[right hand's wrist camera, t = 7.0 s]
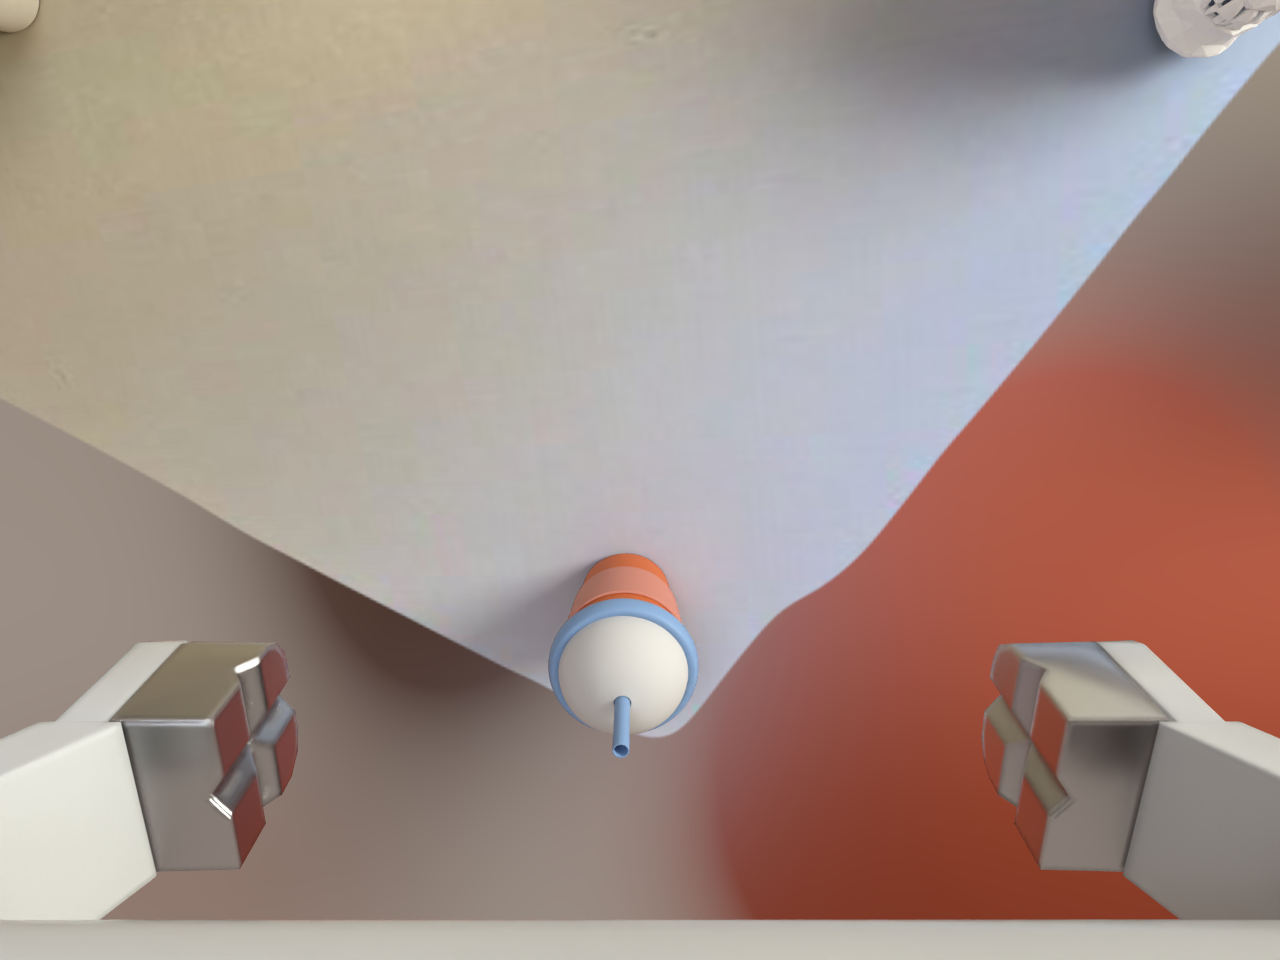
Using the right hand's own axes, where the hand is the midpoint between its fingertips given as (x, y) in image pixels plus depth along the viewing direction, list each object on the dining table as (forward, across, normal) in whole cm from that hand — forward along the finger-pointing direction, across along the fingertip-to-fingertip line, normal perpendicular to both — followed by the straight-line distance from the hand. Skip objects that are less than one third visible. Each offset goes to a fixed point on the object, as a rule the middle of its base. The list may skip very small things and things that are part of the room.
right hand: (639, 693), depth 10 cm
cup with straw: (+48, +1, +23) cm, 53 cm away
